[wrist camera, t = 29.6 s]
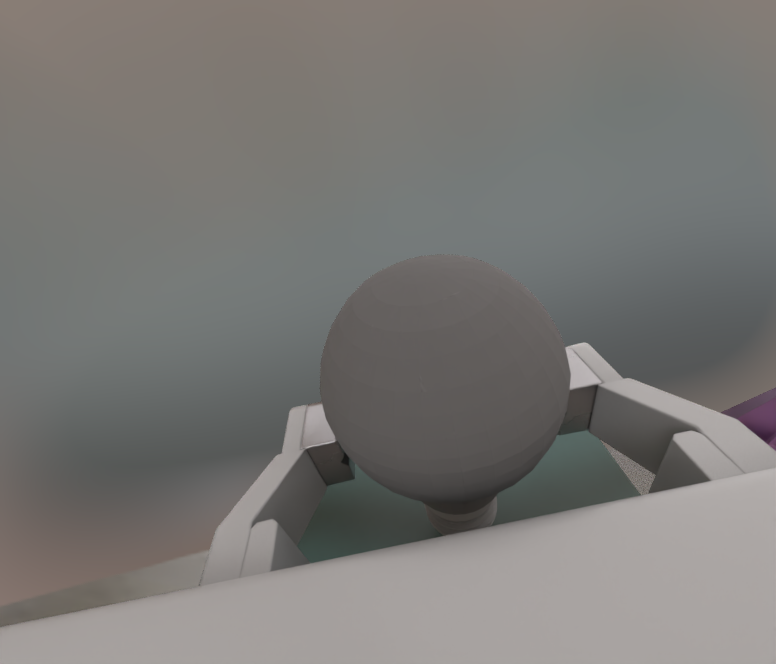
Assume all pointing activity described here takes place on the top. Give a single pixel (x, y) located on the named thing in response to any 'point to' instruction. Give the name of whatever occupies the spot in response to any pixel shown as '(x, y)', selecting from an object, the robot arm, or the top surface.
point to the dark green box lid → (521, 501)
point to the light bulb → (445, 384)
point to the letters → (758, 416)
